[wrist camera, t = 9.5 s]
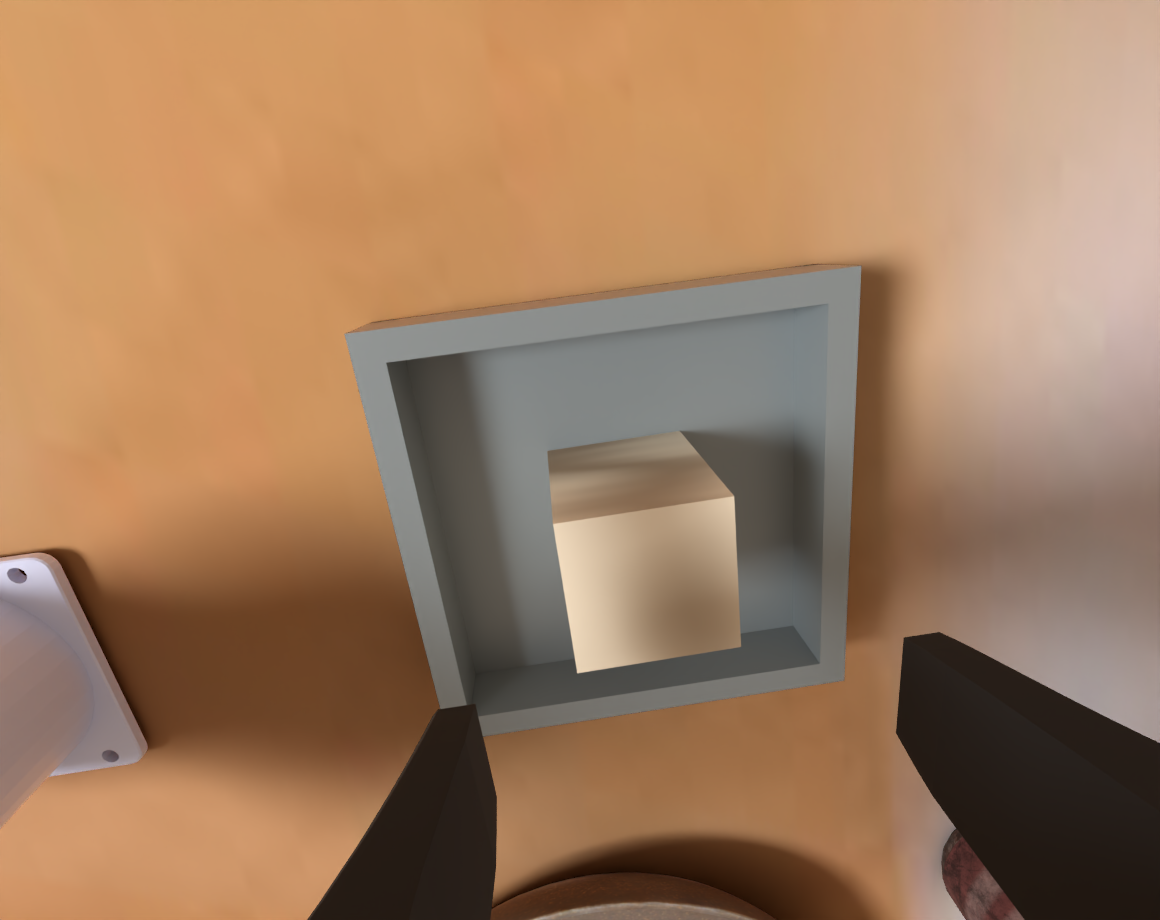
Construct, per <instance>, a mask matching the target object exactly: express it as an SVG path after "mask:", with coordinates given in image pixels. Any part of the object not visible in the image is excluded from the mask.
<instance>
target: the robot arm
mask: <svg viewBox="0 0 1160 920" xmlns="http://www.w3.org/2000/svg"><path fill="white" fill-rule="evenodd" d="M19 569H21V570H23V571H24V572H25V573H26V575H27V576H25V575H23V574H22V573H21V572H20V571H19ZM896 734H897V735H898V737H899V739H900V741H901V742H902V744H903V746H904V748H905V750H906V751H907V753H908V755H909V757H910V758H911V760H912V762H913V764H914V766H915V767H916V769H917V771H918V772H919V774H920V776H921V777H922V779H923V781H924V782H925V784H926V786H927V787H928V789H929V791H930V792H931V794H932V795H933V797H934V798H935V800H936V801H937V802H938V804H939V805H940V806H941V808H942V809H943V811H944V812H945V813H946V815H947V816H948V817H949V819H950V820H951V822H952V823H953V824H954V826H955V827H956V828H957V830H958V831H959V832H960V834H961V835H962V837H963V838H964V839H965V841H966V842H967V843H968V845H969V846H970V847H971V849H972V850H973V851H974V853H975V854H976V855H977V857H978V858H979V859H980V861H981V862H982V863H983V865H984V866H985V867H986V869H987V870H988V871H989V873H990V874H991V876H992V877H993V878H994V880H995V881H996V882H997V884H998V885H999V886H1000V888H1001V889H1002V890H1003V892H1004V893H1005V894H1006V896H1007V897H1008V898H1009V900H1010V901H1011V902H1012V904H1013V905H1014V906H1015V908H1016V909H1017V910H1018V912H1019V913H1020V914H1021V916H1022V917H1023V918H1024V920H1160V743H1158V742H1156V741H1154V740H1152V739H1150V738H1148V737H1146V736H1143V735H1141V734H1139V733H1137V732H1135V731H1133V730H1131V729H1129V728H1127V727H1125V726H1123V725H1121V724H1119V723H1117V722H1115V721H1113V720H1111V719H1109V718H1107V717H1105V716H1103V715H1101V714H1099V713H1097V712H1095V711H1093V710H1091V709H1089V708H1087V707H1085V706H1083V705H1081V704H1079V703H1077V702H1075V701H1073V700H1071V699H1069V698H1067V697H1065V696H1063V695H1061V694H1060V693H1058V692H1056V691H1054V690H1052V689H1050V688H1048V687H1046V686H1044V685H1042V684H1040V683H1038V682H1036V681H1035V680H1033V679H1031V678H1029V677H1027V676H1025V675H1023V674H1021V673H1019V672H1017V671H1015V670H1014V669H1012V668H1010V667H1008V666H1006V665H1004V664H1002V663H1000V662H998V661H996V660H994V659H992V658H991V657H989V656H987V655H985V654H983V653H981V652H979V651H977V650H975V649H973V648H971V647H969V646H967V645H965V644H963V643H961V642H959V641H957V640H955V639H953V638H951V637H949V636H946V635H944V634H942V633H940V632H938V633H931V634H925V635H918V636H912V637H905V638H904V642H903V655H902V667H901V679H900V692H899V704H898V716H897V729H896ZM147 749H148V746H147V742H146V740H145V738H144V736H143V734H142V732H141V730H140V728H139V726H138V724H137V722H136V720H135V718H134V716H133V714H132V711H131V709H130V707H129V705H128V703H127V701H126V699H125V697H124V695H123V693H122V691H121V689H120V687H119V685H118V683H117V680H116V678H115V676H114V674H113V672H112V670H111V668H110V666H109V664H108V662H107V660H106V658H105V656H104V654H103V652H102V649H101V647H100V645H99V643H98V641H97V639H96V637H95V635H94V633H93V631H92V629H91V627H90V625H89V623H88V621H87V618H86V616H85V614H84V612H83V610H82V608H81V606H80V604H79V602H78V600H77V598H76V596H75V594H74V592H73V590H72V587H71V585H70V583H69V581H68V579H67V577H66V575H65V573H64V571H63V569H62V567H61V565H60V563H59V562H58V561H57V559H55V558H54V557H52V556H51V555H48V554H45V553H31V554H24V555H17V556H10V557H3V558H0V829H1V828H2V826H3V825H4V824H5V823H6V822H7V821H8V820H9V819H10V818H11V817H12V816H13V815H14V813H15V812H16V811H17V810H18V809H19V808H20V807H21V806H22V805H23V804H24V803H25V802H26V800H27V799H28V798H29V797H30V796H31V795H32V794H33V793H34V792H35V791H36V790H37V789H38V787H39V786H40V785H41V784H42V783H43V782H44V781H45V780H46V779H47V778H48V777H50V776H56V775H63V774H69V773H76V772H82V771H89V770H95V769H102V768H108V767H115V766H121V765H128V764H133V763H136V762H138V761H139V760H140V759H141V758H142V757H143V756H144V754H145V753H146V752H147ZM114 751H115V752H114ZM496 834H497V796H496V792H495V787H494V783H493V779H492V774H491V770H490V765H489V761H488V757H487V752H486V748H485V744H484V739H483V735H482V731H481V726H480V722H479V717H478V713H477V709H476V704H470V705H464V706H457V707H451V708H444V709H438V710H437V712H436V713H435V714H434V715H433V717H432V719H431V720H430V722H429V724H428V726H427V728H426V730H425V732H424V734H423V735H422V737H421V739H420V741H419V743H418V745H417V746H416V748H415V750H414V752H413V754H412V756H411V757H410V759H409V761H408V763H407V764H406V766H405V768H404V770H403V771H402V773H401V775H400V777H399V778H398V780H397V782H396V784H395V785H394V787H393V789H392V790H391V792H390V794H389V795H388V797H387V799H386V800H385V802H384V804H383V805H382V807H381V808H380V810H379V812H378V813H377V815H376V817H375V818H374V820H373V822H372V823H371V825H370V827H369V828H368V830H367V832H366V833H365V835H364V836H363V838H362V839H361V841H360V843H359V844H358V846H357V847H356V849H355V850H354V852H353V853H352V855H351V856H350V858H349V859H348V861H347V862H346V864H345V865H344V867H343V868H342V870H341V871H340V873H339V874H338V876H337V877H336V879H335V880H334V882H333V883H332V885H331V886H330V888H329V889H328V891H327V892H326V894H325V895H324V897H323V898H322V900H321V901H320V902H319V904H318V905H317V907H316V908H315V910H314V911H313V912H312V914H311V915H310V917H309V918H308V919H307V920H490V918H491V909H492V900H493V890H494V880H495V871H496Z"/></svg>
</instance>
